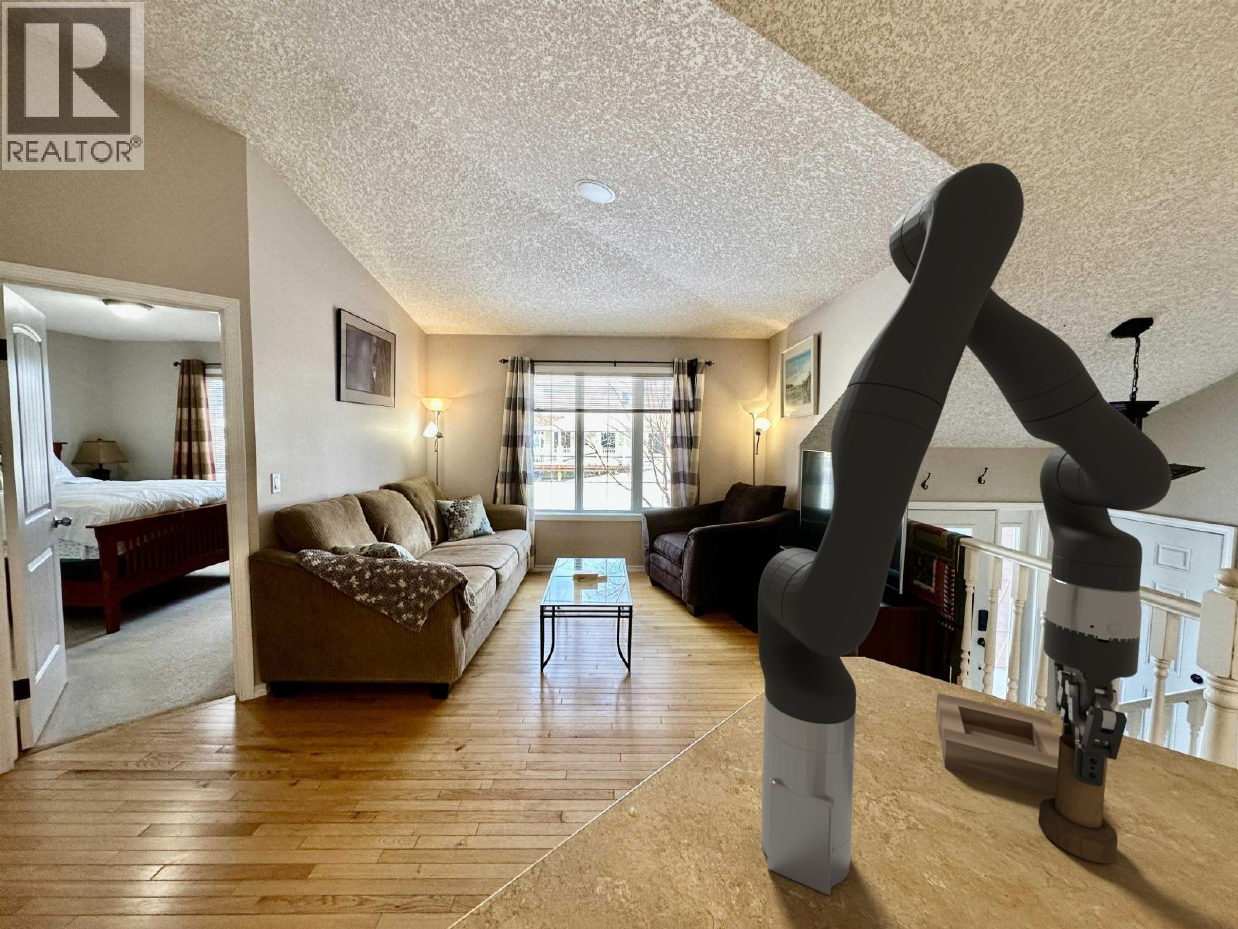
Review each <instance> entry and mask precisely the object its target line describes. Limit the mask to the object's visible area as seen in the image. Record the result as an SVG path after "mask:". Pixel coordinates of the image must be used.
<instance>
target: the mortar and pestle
mask: <svg viewBox="0 0 1238 929" xmlns="http://www.w3.org/2000/svg"><path fill="white" fill-rule="evenodd" d="M1067 698H1068V695H1067ZM1068 699H1069V698H1068ZM1078 715H1079V717H1080V718H1083V719H1087V717H1088V716H1084V715H1080V714H1078ZM1071 728H1072V732H1073V735H1062V734H1061V735H1059V736H1060V738H1059V756H1058V769H1057V782H1056V793H1055V798H1046V799H1043V800H1042V801H1040V803H1039V808H1038V809H1039V811H1038V825H1039V826H1038V827H1039V828H1040V829H1041V831H1042V832H1043V834H1044V835H1045V836H1046V837H1047V838H1048V839H1049V840H1050V841H1052V843H1055V845H1057V846H1058V847H1060V848H1062V849H1063V850H1065V851H1067V852H1068V853H1070V854H1072V855H1074V856H1076V857H1078V858H1081V859H1084V860H1086V861H1088V862H1093V863H1097V864H1111V863H1113V862H1115V861H1116V859H1117V852H1118V850H1117V849H1118V841H1119V840H1118V833H1117V832H1116V830H1115V829H1114V827H1113V826H1112V825H1111V824H1110V823H1109V822H1108V821H1107V820H1106V818H1104V817H1103V816H1104V815H1103V814H1104V802H1105V788H1106V780H1107V779H1106V778H1107V768H1108V759H1109V758H1106V757H1105V760H1104V774H1103V785H1102V786H1100V787H1097V786H1093V785H1089V784H1086V783H1082V782H1079V781H1078V780H1077V779H1076V777H1075V776H1074V758H1075V725H1074V724H1073V723H1071ZM1094 741H1096V740H1094Z"/></svg>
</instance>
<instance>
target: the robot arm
mask: <svg viewBox="0 0 1238 929" xmlns="http://www.w3.org/2000/svg"><path fill="white" fill-rule="evenodd" d="M1024 200H1025V199H1024V193H1023V189H1022V186H1021V183H1020V181H1019V180H1018V178H1017V176H1016V175H1015V173H1013V172H1012V171H1011V170H1010V169H1009V168H1008V167H1006V166H1005V165H1002V164H998V163H996V162H995V163H994V162H981V163H976V164H972V165H970V166H967V167H965V168H962V169H960V170H959V171H957V172H955V173H954V174H952V175H950V176H948V177H947V178H945V179H944V180H942V181H940V183H938V184H937V185H936V186H935V187H934V188H933V189H931V190H930V191H929V192H928V193H927V194H925V195H924V196H923V197H922V198H920V200H918V201H917V202H916V203H915V204H914V205H912V206H911V207H910V208H909V209H907V210H906V211H904V213H903V214H902V215H901V216H900V217H899V218H898V219H897V221H896V222H895V223H894V225H893V227H892V230H890V231H891V232H890V235H889V239H888V240H889V241H888V249H889V254H890V258H891V260H892V262H893V263H894V266H895V267H896V268H897V270H898V272H899V273H900V275H901V276H902V277H903V278H904V279H905V280H906V282H907V283H908V284H909V285H908V287H907V290H906V292H905V294H904V296H903V298H902V300H901V301H900V303H899V305H898V306H897V307H896V309H895V311H894V312H893V313H892V315H890V318H889V319H888V320H887V321H886V323H885V324H884V325H883V327H882V329H880V331H879V332H878V334H877V335H876V337H875V338H874V340H873V341H872V342H871V344H870V345H869V346H868V349H867V350H866V351H865V353H864V355H863V356H862V357H861V359H860V361H859V362H858V364H857V365H856V367H855V370H854V371H853V373H852V375H851V377H850V379H849V382H848V383H847V387H846V388H845V391H844V394H843V397H842V400H841V402H840V405H839V409H838V412H837V414H836V416H835V420H834V423H833V426H832V431H831V436H830V437H831V438H830V439H831V440H830V453H831V454H830V455H831V465H832V466H831V467H832V479H833V480H832V481H833V502H832V509H831V513H830V517H829V520H828V524H827V526H826V529H825V532H824V535H823V537H822V540H821V542H820V545H819V548H818V550H817V552H816V551H813V550H810V549H807V548H802V547H801V548H800V547H793V548H788V549H784V550H782V551H780V552H778V553H777V554H775V555H774V556H773V557H772V558H771V559H770V560H769V561H768V562H767V564H766V566H765V567H764V570H763V572H762V574H761V577H760V581H759V586H758V592H757V593H758V595H757V633H758V634H757V635H758V636H757V640H758V645H757V646H758V658H759V659H758V660H759V663H760V664H759V665H760V668H761V671H762V674H763V678H764V706H763V707H764V710H763V713H764V718H763V742H762V743H763V744H762V745H763V748H762V784H761V786H762V787H761V833H760V834H761V837H760V838H761V845H762V849H763V851H764V853H765V855H766V857H767V862H766V866H767V868H768V870H769V871H772V872H774V873H776V874H779V875H782V876H783V877H786V878H789V879H791V880H793V881H795V882H797V883H800V884H802V885H804V886H806V887H809V888H811V889H814V890H816V891H817V892H820V893H823V894H825V895H829V896H830V895H831V892H832V888H833V887H834V886H836V885H838V884H840V883H841V882H843V881H844V880H845V879H846V878H847V877H848V875H849V872H850V871H851V870H850V867H851V857H852V856H851V853H852V852H851V848H852V823H853V821H852V819H853V797H854V796H853V793H854V792H853V791H854V764H855V763H854V762H855V739H856V719H857V718H856V714H857V712H856V710H857V688H856V684H855V681H854V679H853V677H852V675H851V674H850V672H849V670H848V669H847V667H846V666H845V664H844V662H843V660H842V659H841V657H843V656H845V655H848V654H850V653H852V652H853V651H854V650H855V649H857V648H859V647H860V645H862V643H863V642H864V641H865V640H866V638H867V637H868V635H869V634H870V632H872V628H873V627H874V624H875V622H876V620H877V616H878V613H879V611H880V607H881V603H882V601H883V597H884V592H885V588H886V584H887V579H888V576H889V571H890V567H891V563H892V559H893V556H894V551H895V547H896V543H897V538H898V535H899V531H900V527H901V524H902V521H903V519H904V516H905V513H906V510H907V508H908V504H909V501H910V497H911V495H912V492H913V489H914V486H915V484H916V480H917V479H918V478H917V477H918V474H919V472H920V468H921V466H922V463H923V460H924V459H925V456H926V453H927V451H928V449H929V446H930V445H931V442H932V440H933V437H934V435H935V432H936V429H937V426H938V424H939V421H940V418H941V416H942V412H943V409H944V408H945V404H946V401H947V398H948V394H949V391H950V388H951V385H952V382H953V379H954V377H955V374H956V373H957V370H958V368H959V364H960V362H961V359H962V357H963V354H964V351H965V349H966V347H967V348H968V349H969V350H970V351H971V353H973V355H974V356H975V357H976V359H977V360H978V361H979V362H980V364H981V365H982V366H983V367H984V369H985V370H986V371H987V373H988V374H989V376H990V377H991V379H992V380H993V381H994V383H995V384H996V386H997V388H998V389H999V391H1000V393H1001V394H1002V396H1003V397H1004V399H1005V400H1006V402H1007V403H1008V405H1009V407H1010V408H1011V410H1012V411H1013V413H1014V415H1015V417H1016V418H1017V419H1018V421H1019V422H1020V424H1021V425H1022V427H1023V429H1024V430H1025V431H1026V432H1027V433H1028V434H1029V435H1030V436H1032V437H1033V438H1036V439H1037V440H1041V441H1044V442H1048V443H1051V444H1053V445H1056V446H1058V447H1057V448H1055V449H1054V450H1053V451H1051V452H1050V454H1049V455H1048V456H1047V457H1046V459H1045V460H1044V463H1043V465H1042V467H1041V470H1040V474H1039V488H1040V494H1041V499H1042V503H1043V507H1044V508H1043V509H1044V512H1045V516H1046V520H1047V523H1048V526H1049V530H1050V533H1051V536H1052V539H1053V540H1052V541H1053V547H1052V555H1051V572H1050V574H1051V575H1050V581H1049V585H1048V589H1047V593H1046V603H1045V606H1046V607H1045V618H1044V620H1045V621H1044V622H1045V623H1044V638H1043V651H1044V653H1045V654H1046V656H1047V657H1049V658H1050V659H1051V660H1052V661H1053V666H1054V685H1055V689H1054V690H1055V704H1054V705H1055V708H1056V710H1057V711H1059V712H1060V714H1059V716H1058V718H1059V720H1060V722H1061V724H1062V729H1061V735H1073V732H1072V728H1071V723H1073V724H1074V725H1075V758H1074V776H1075V777H1076V779H1077V780H1078V781H1079V782H1082V783H1086V784H1089V785H1093V786H1097V787H1100V786H1102V785H1103V774H1104V760H1105V757H1106V758H1108V759H1109V760H1113V761H1116V760H1117V757H1118V754H1119V751H1120V747H1121V744H1122V740H1123V737H1124V733H1125V730H1126V727H1127V722H1128V719H1127V717H1126V714H1125V712H1121V711H1116V709H1115V708H1116V707H1118V692H1117V690H1116V689H1115V688H1114V687H1113V686H1114V684H1113V681H1114V680H1115V679H1120V678H1123V679H1126V678H1131V677H1134V676H1136V674H1137V673H1138V668H1139V654H1140V653H1139V652H1140V642H1141V628H1142V627H1141V626H1142V617H1143V616H1142V602H1141V590H1140V589H1141V576H1142V564H1143V547H1142V544H1141V541H1140V540H1139V539H1138V538H1137V537H1135V536H1134V535H1132V534H1131V533H1129V532H1126V531H1124V530H1122V529H1120V528H1118V527H1116V526H1115V525H1114V523H1113V522H1112V519H1111V517H1110V516H1111V515H1110V514H1109V510H1113V511H1123V512H1129V511H1130V512H1131V511H1132V512H1133V511H1134V512H1135V511H1142V510H1146V509H1150V508H1151V507H1154V506H1155V505H1157V504H1159V503H1160V502H1162V501H1163V499H1164V498H1166V496H1167V494H1168V492H1169V490H1170V488H1171V485H1172V471H1171V468H1170V465H1169V461H1168V459H1167V458H1166V456H1165V454H1164V452H1162V450H1161V449H1160V447H1159V446H1158V445H1157V444H1156V443H1155V442H1154V440H1152V439H1151V437H1149V436H1148V435H1147V434H1146V433H1144V431H1142V430H1141V429H1140V428H1138V426H1136V425H1135V424H1134V423H1133V422H1132V421H1131V420H1130V419H1129V418H1128V417H1127V416H1126V415H1125V414H1123V413H1122V412H1121V411H1119V409H1117V408H1115V407H1114V406H1113V405H1111V404H1110V403H1109V402H1108V401H1107V400H1106V399H1105V398H1104V396H1103V395H1102V393H1101V390H1100V389H1099V388H1098V387H1099V386H1097V384H1096V382H1095V381H1094V380H1093V378H1092V376H1091V374H1090V373H1089V372H1088V369H1087V368H1086V367H1085V365H1084V364H1083V362H1082V360H1081V359H1080V357H1079V356H1078V354H1077V353H1076V352H1075V351H1074V349H1072V348H1071V346H1069V344H1067V343H1066V341H1064V339H1062V338H1061V337H1060V336H1058V335H1057V334H1056V333H1054V332H1053V331H1052V330H1050V329H1049V328H1047V327H1045V326H1043V325H1042V324H1041V323H1040V322H1037V321H1036V320H1034V319H1032V318H1031V317H1029V316H1028V315H1026V314H1023V312H1022V311H1019V310H1018V309H1017V308H1015V307H1013V306H1012V305H1010V304H1009V303H1008V302H1007V301H1005V299H1003V298H1002V297H1001V296H999V295H998V294H997V292H995V290H993V288H992V285H993V284H994V282H995V280H996V278H997V277H998V274H999V272H1000V270H1001V269H1002V266H1003V264H1004V262H1005V261H1006V259H1007V257H1008V255H1009V253H1010V250H1011V248H1012V247H1013V245H1014V242H1015V240H1016V238H1017V236H1018V233H1019V232H1020V227H1021V226H1022V225H1021V224H1022V220H1023V217H1024V207H1025V204H1024V203H1025V201H1024ZM1108 509H1109V510H1108ZM1067 695H1068V696H1067ZM1068 698H1069V699H1068ZM1078 714H1080V715H1084V716H1088V717H1087V719H1083V718H1080V717H1079V715H1078ZM1094 740H1095V741H1094Z"/></svg>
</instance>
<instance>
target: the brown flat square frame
mask: <svg viewBox="0 0 1238 929" xmlns="http://www.w3.org/2000/svg"><path fill="white" fill-rule="evenodd" d="M935 713H936V714H935V717H936V724H937V730H938V735H939V736H938V737H939V740H940V749H941V753H942V759H943V765H944V768H945V769H948V770H952V771H953V772H959V773H963V774H966V775H969V776H973V777H976V778H980V779H983V780H986V781H990V782H994V783H997V784H1000V785H1004V786H1008V787H1011V788H1013V789H1018V790H1022V791H1024V792H1029V793H1031V794H1036V795H1040V796H1042V797H1046V798H1048V799H1051V798H1055V793H1056V782H1057V769H1058V756H1059V738H1060V736H1061V735H1059V733H1058V731H1057V730H1056V727H1055V726H1054V724H1053V722H1052V721H1051V719H1050V718H1049V717H1048V716H1043V715H1038V714H1036V713H1035V714H1034V713H1030V712H1025V711H1020V710H1017V709H1011V708H1007V707H1003V706H998V705H993V704H988V703H986V702H985V703H984V702H980V701H975V700H971V699H967V698H962V697H958V696H953V695H948V694H944V693H940V692H937V694H936V712H935Z"/></svg>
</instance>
